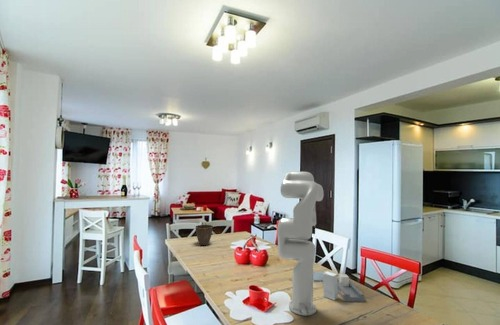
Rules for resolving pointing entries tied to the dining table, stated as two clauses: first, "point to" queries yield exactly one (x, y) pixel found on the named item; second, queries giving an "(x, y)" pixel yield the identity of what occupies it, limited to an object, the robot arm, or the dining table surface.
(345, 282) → the switch tab
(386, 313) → the dining table surface
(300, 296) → the robot arm
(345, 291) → the switch panel
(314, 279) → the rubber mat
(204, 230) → the plant pot
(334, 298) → the skincare box
